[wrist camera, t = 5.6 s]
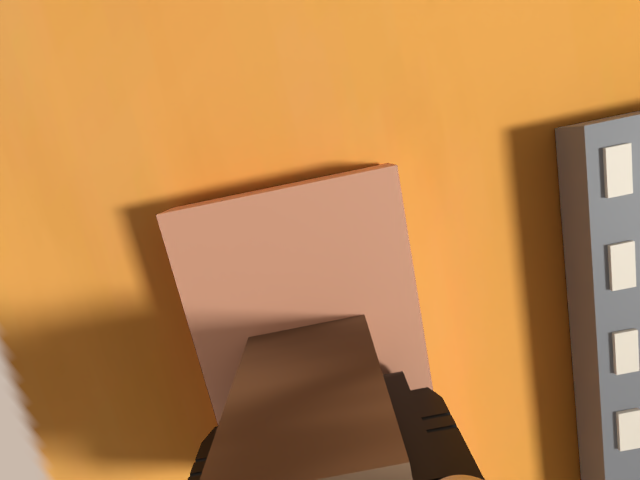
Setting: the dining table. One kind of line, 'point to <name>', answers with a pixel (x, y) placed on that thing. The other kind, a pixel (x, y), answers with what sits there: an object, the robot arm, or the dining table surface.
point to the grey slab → (603, 288)
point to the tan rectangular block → (302, 324)
